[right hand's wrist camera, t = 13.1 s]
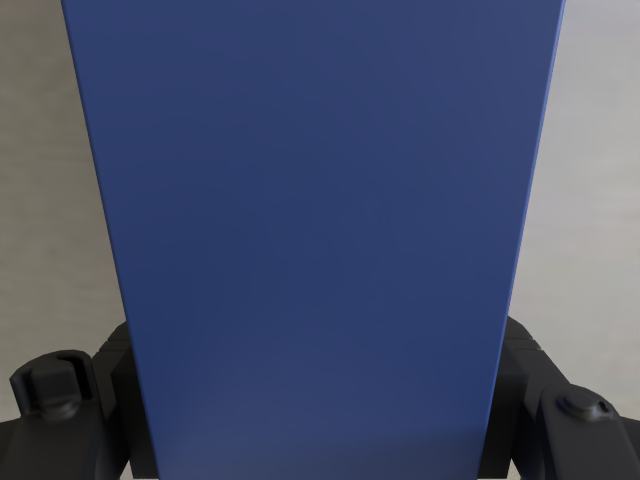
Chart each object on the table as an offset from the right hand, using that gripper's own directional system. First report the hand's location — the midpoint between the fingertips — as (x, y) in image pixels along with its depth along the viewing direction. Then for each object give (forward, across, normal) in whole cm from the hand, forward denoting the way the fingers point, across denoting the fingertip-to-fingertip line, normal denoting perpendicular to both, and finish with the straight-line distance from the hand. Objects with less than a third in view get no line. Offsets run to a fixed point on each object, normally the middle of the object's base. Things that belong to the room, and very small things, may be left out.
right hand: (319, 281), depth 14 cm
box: (+4, 0, -8) cm, 9 cm away
